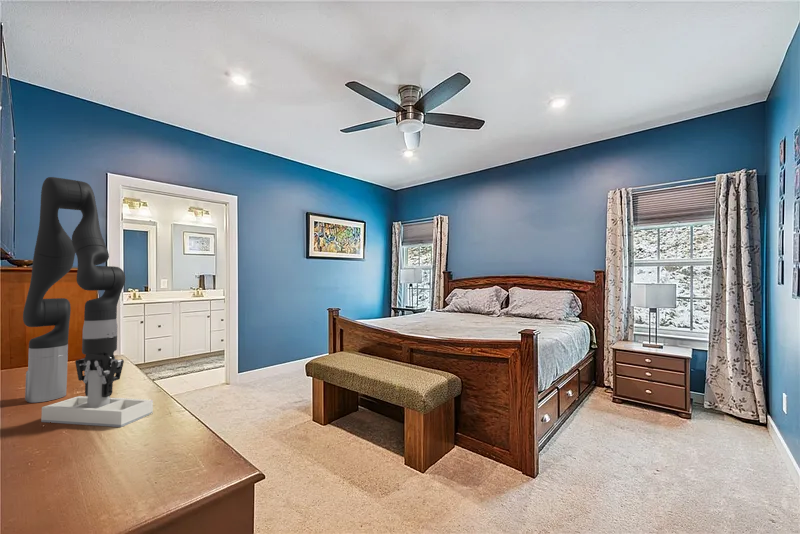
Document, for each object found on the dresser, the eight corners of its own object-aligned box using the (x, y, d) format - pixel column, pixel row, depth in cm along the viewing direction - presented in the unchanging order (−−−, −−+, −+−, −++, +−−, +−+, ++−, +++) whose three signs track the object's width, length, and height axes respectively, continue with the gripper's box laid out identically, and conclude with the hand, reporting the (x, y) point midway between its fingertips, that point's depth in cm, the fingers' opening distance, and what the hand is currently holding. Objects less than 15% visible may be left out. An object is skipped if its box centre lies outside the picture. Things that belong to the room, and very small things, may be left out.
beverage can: (114, 408, 99) (115, 366, 100) (97, 415, 94) (99, 370, 95) (99, 408, 100) (100, 366, 100) (82, 414, 95) (83, 370, 95)
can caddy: (41, 421, 94) (41, 407, 95) (78, 409, 104) (78, 396, 104) (121, 427, 90) (121, 411, 90) (152, 413, 99) (152, 399, 100)
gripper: (64, 337, 95) (62, 399, 95) (108, 338, 93) (106, 401, 92) (93, 333, 103) (91, 391, 102) (134, 333, 101) (132, 392, 100)
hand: (98, 395), depth 97 cm, fingers closed on beverage can, 5 cm apart
